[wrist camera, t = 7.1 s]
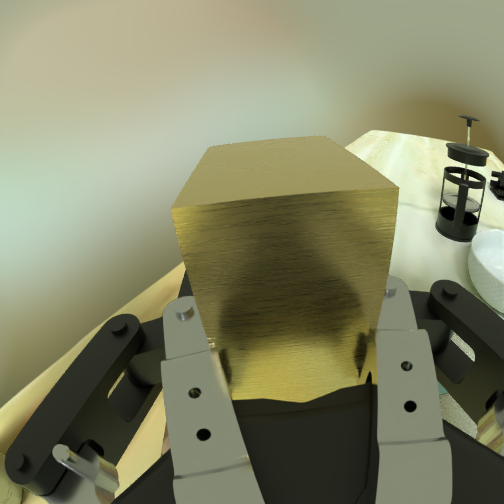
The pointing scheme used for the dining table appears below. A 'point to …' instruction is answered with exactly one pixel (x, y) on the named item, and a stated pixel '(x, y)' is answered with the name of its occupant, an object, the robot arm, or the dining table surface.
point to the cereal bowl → (488, 266)
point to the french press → (462, 192)
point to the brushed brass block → (287, 261)
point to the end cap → (498, 185)
